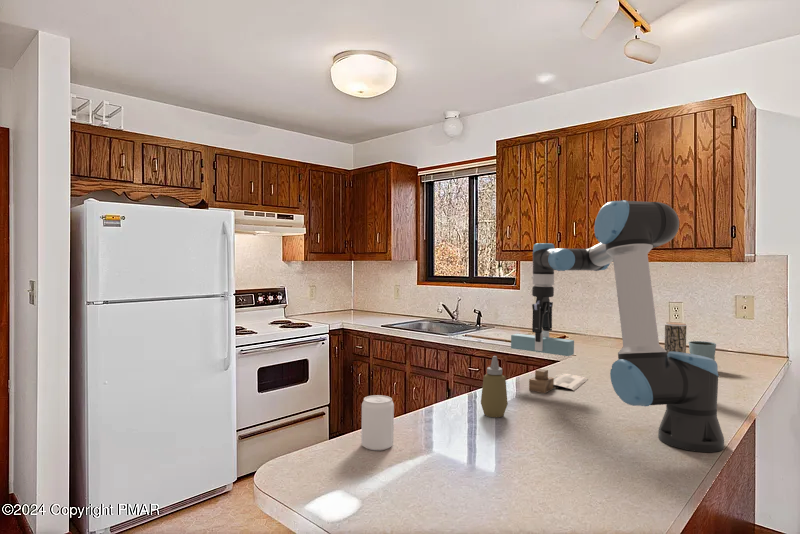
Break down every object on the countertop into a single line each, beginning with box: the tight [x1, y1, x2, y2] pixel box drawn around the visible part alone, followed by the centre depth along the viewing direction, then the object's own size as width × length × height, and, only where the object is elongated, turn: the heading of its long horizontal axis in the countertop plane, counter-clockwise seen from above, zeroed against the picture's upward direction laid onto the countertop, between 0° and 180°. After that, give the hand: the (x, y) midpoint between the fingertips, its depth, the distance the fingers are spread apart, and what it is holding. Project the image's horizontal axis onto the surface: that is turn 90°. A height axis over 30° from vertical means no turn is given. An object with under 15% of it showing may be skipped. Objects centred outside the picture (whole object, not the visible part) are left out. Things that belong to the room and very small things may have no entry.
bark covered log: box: [664, 321, 687, 354], centre depth 187 cm, size 7×7×25 cm
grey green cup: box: [688, 340, 717, 361], centre depth 225 cm, size 10×10×12 cm
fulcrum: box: [528, 368, 554, 394], centre depth 190 cm, size 8×6×7 cm
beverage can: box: [360, 394, 395, 451], centre depth 132 cm, size 8×8×12 cm
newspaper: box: [552, 373, 589, 392], centre depth 200 cm, size 23×12×2 cm, turn 148°
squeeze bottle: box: [480, 355, 508, 418], centre depth 159 cm, size 8×8×18 cm
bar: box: [510, 333, 575, 357], centre depth 190 cm, size 5×22×5 cm, turn 50°
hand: (541, 349), depth 190 cm, fingers closed on bar, 5 cm apart
